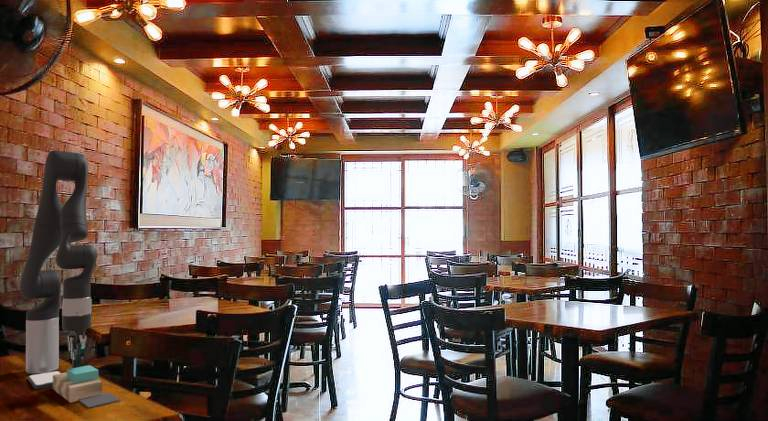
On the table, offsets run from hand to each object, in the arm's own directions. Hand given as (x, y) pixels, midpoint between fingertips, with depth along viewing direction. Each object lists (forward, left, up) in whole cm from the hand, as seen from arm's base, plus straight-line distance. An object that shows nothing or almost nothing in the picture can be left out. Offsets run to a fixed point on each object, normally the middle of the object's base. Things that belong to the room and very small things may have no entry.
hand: (77, 371), depth 156 cm
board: (+4, -1, -5) cm, 6 cm away
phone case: (-15, -4, -6) cm, 17 cm away
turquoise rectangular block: (+6, 0, -1) cm, 6 cm away
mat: (+17, +1, -5) cm, 18 cm away
